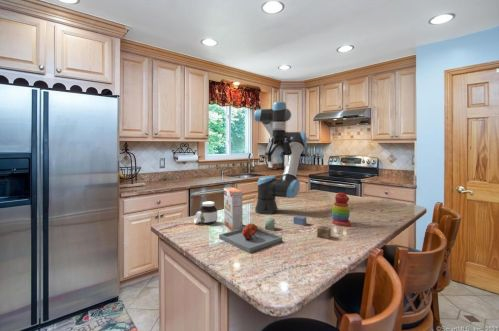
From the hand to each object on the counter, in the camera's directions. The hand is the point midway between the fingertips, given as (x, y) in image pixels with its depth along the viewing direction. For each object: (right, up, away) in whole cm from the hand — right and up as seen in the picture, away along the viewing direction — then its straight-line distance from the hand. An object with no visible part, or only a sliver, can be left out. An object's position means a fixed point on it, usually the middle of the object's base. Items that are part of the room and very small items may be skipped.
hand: (278, 166), depth 152 cm
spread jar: (-42, -32, -2) cm, 53 cm away
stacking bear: (+35, -32, -3) cm, 48 cm away
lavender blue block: (+12, -32, -3) cm, 34 cm away
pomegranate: (-16, -34, -29) cm, 47 cm away
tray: (-17, -34, -29) cm, 48 cm away
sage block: (-6, -33, -12) cm, 35 cm away
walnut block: (+19, -34, -24) cm, 46 cm away
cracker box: (-26, -33, -10) cm, 43 cm away
